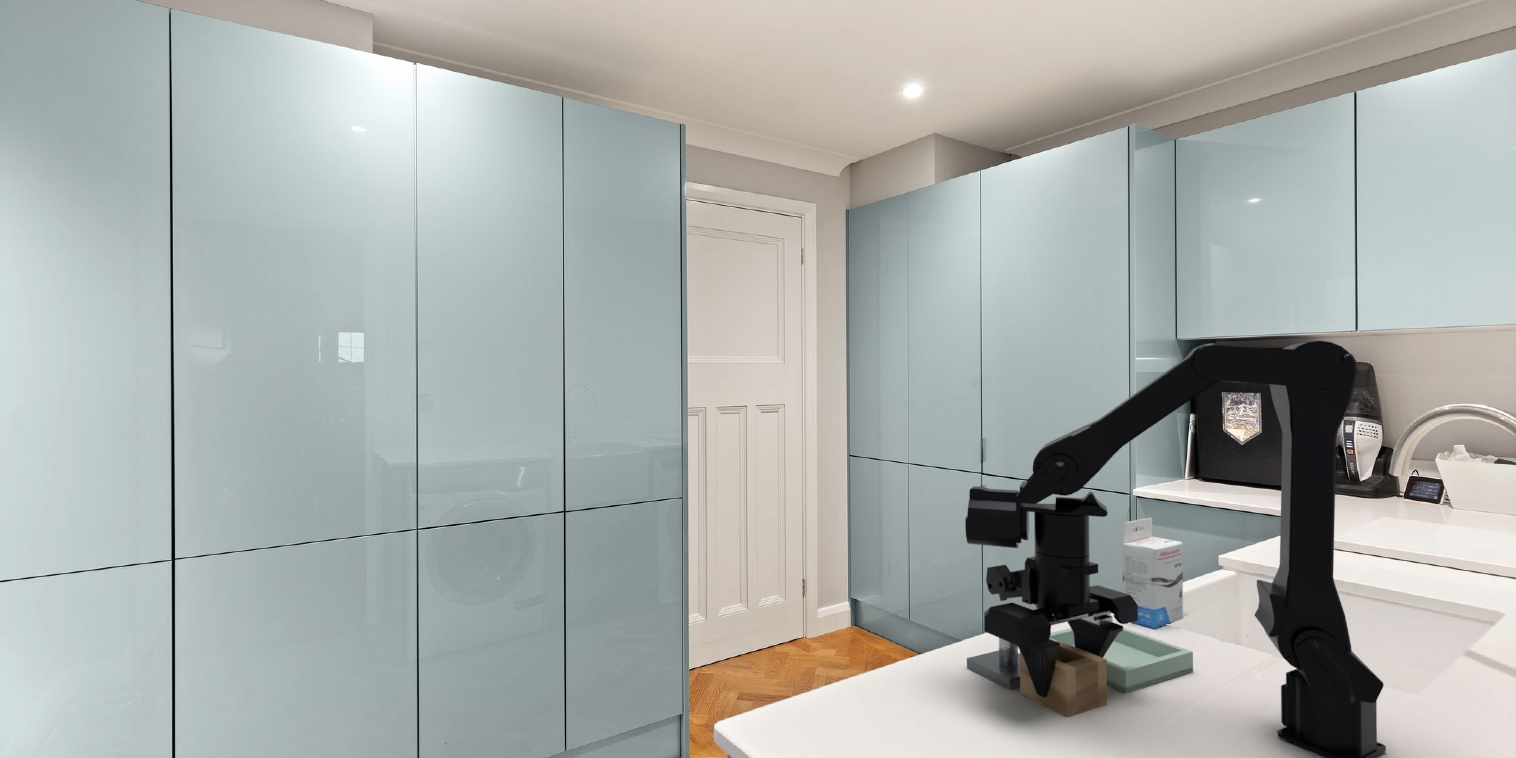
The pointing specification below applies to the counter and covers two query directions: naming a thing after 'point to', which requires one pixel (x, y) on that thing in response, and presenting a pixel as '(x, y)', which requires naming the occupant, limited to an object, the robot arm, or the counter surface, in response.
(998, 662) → the stand
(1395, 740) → the counter surface
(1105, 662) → the walnut block
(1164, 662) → the sage tray
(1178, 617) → the ink box
